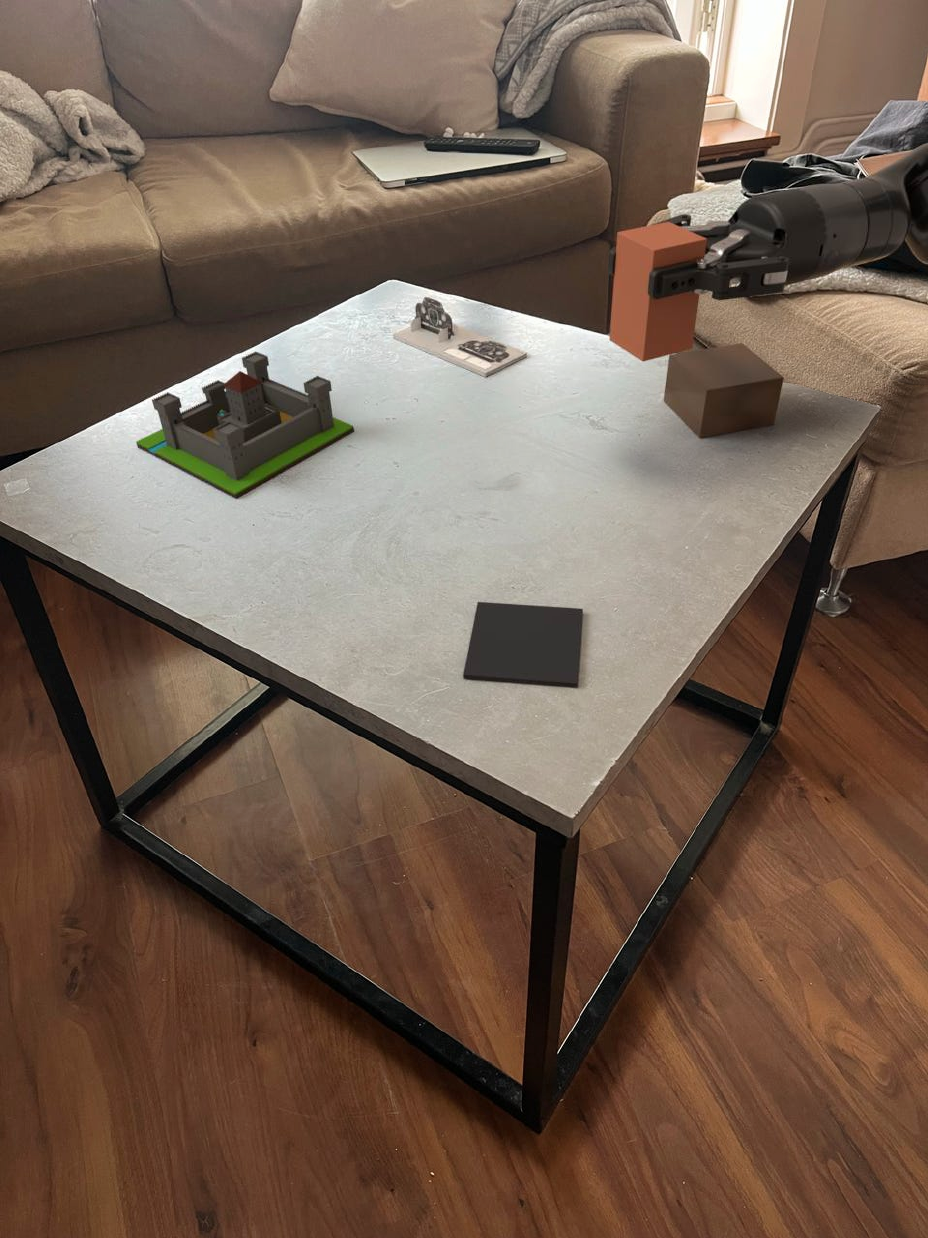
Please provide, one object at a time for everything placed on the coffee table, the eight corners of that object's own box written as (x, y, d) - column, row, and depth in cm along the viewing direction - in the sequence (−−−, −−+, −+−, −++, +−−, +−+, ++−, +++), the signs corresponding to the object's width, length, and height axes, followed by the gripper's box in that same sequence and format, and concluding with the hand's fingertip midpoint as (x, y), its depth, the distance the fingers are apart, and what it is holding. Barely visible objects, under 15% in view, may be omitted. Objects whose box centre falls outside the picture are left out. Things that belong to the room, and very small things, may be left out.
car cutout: (393, 337, 108) (389, 300, 105) (434, 319, 111) (432, 282, 108) (485, 376, 100) (484, 337, 97) (526, 356, 103) (527, 317, 100)
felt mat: (582, 612, 70) (582, 608, 70) (577, 687, 64) (577, 683, 64) (477, 605, 71) (477, 601, 71) (463, 678, 65) (463, 674, 65)
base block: (734, 388, 96) (742, 342, 93) (774, 424, 90) (784, 377, 87) (663, 400, 94) (668, 354, 91) (699, 438, 89) (706, 390, 85)
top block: (657, 328, 81) (668, 221, 75) (692, 348, 78) (707, 238, 72) (609, 340, 79) (617, 231, 74) (642, 361, 76) (654, 250, 70)
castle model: (236, 498, 83) (219, 425, 78) (137, 446, 91) (116, 376, 86) (354, 431, 92) (345, 360, 87) (254, 388, 99) (241, 321, 94)
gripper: (748, 169, 81) (584, 200, 76) (870, 212, 72) (692, 251, 66) (734, 255, 86) (579, 291, 81) (847, 307, 76) (679, 351, 71)
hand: (631, 273), depth 73 cm, fingers closed on top block, 5 cm apart
